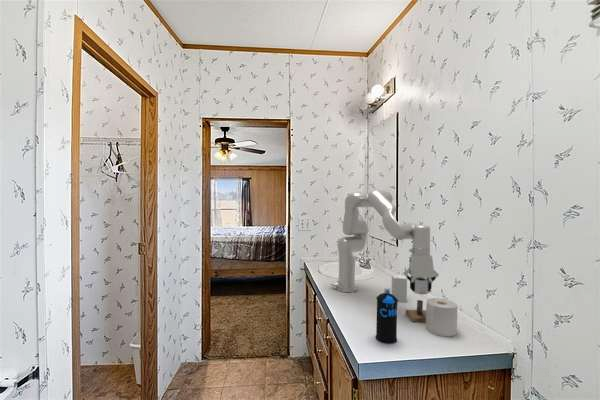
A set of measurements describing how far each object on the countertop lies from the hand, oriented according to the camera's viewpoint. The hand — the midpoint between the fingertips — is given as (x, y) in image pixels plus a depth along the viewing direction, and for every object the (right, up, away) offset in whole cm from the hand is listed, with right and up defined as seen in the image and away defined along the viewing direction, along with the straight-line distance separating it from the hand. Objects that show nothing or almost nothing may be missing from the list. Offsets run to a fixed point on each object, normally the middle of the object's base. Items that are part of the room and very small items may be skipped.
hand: (420, 290), depth 141 cm
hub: (0, -1, 0) cm, 1 cm away
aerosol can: (-22, -13, -20) cm, 33 cm away
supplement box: (-2, -13, +26) cm, 29 cm away
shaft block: (0, -13, 0) cm, 13 cm away
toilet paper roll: (+4, -14, -12) cm, 18 cm away
